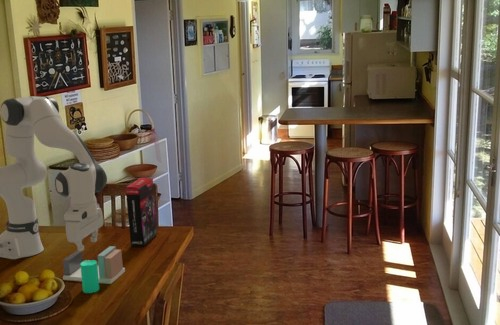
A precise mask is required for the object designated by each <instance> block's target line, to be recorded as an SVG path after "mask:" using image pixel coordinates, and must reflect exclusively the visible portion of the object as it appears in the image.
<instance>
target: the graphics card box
mask: <svg viewBox="0 0 500 325" xmlns="http://www.w3.org/2000/svg"><path fill="white" fill-rule="evenodd" d="M154 188H155V187H154V180H153V178H151V177H139V178H137V179H136V180H135V181H134V182H131V183H130V184H129V185H126V187H125V195H126V196H125V197H126V206H127V216H128V225H129V226H128V227H129V237H130V247H136V248H137V247H139V248H140V247H141V248H142V247H143V248H144V247H146V245H147V244H148V243H150V241H152V239H154V238H155V237H156V236H157V235H158V227H157V225H158V224H157V213H156V211H157V210H156V202H155V190H154Z"/></svg>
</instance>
